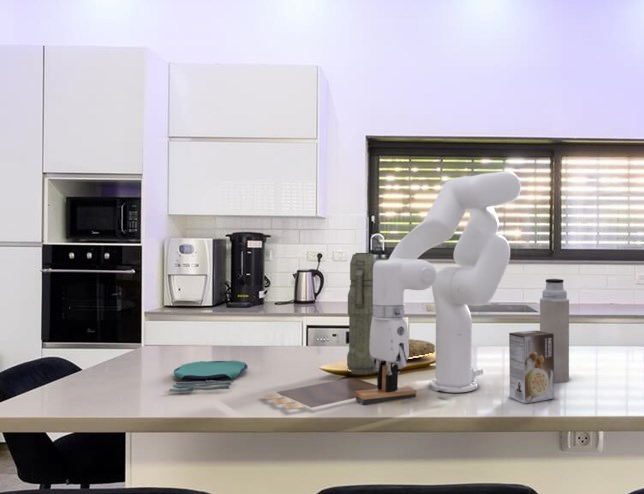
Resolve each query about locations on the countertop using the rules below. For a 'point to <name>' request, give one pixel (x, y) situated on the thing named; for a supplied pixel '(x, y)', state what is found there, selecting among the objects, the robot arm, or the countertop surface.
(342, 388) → the tray
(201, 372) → the cutlery set
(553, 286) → the thermos bottle
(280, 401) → the crumb
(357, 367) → the olive green flask
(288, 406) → the crumb
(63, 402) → the countertop surface
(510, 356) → the brown white upright box
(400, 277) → the robot arm
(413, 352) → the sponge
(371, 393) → the wooden knob plate
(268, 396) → the crumb
